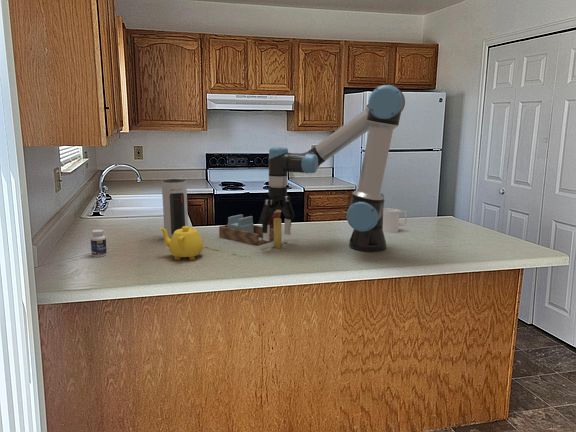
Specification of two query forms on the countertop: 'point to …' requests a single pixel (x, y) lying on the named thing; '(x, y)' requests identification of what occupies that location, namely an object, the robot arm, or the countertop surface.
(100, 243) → the pill bottle
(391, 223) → the cup
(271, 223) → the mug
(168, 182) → the speaker
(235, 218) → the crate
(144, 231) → the countertop surface
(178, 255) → the teapot
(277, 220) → the peg
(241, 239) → the bay
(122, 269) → the countertop surface
